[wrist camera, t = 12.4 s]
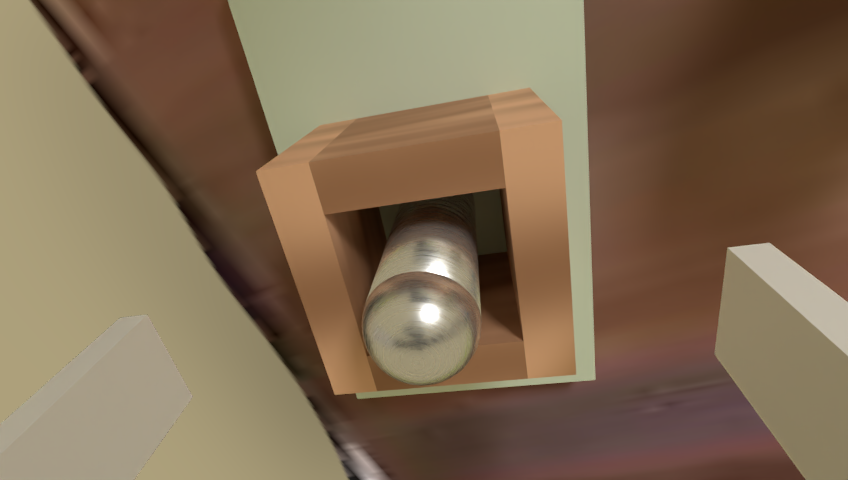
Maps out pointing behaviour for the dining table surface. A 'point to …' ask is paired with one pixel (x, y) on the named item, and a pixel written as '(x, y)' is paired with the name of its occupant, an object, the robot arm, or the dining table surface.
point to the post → (426, 293)
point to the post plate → (432, 96)
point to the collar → (420, 180)
